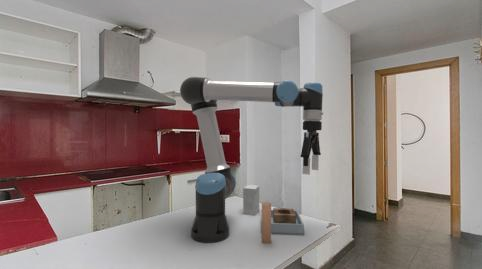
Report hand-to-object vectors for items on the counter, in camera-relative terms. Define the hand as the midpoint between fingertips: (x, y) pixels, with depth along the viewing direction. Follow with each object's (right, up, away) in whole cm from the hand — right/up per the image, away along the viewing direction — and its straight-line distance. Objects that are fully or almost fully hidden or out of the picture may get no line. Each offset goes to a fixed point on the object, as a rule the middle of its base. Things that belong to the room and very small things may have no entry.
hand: (310, 171), depth 99 cm
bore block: (-10, -24, +5) cm, 27 cm away
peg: (-20, -24, -10) cm, 33 cm away
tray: (-12, -24, +5) cm, 27 cm away
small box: (-24, -24, +22) cm, 40 cm away
